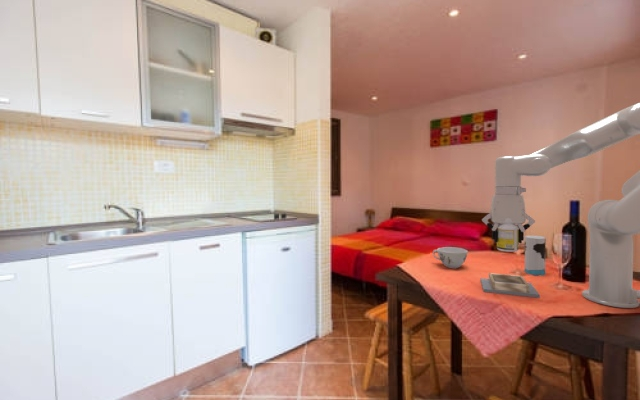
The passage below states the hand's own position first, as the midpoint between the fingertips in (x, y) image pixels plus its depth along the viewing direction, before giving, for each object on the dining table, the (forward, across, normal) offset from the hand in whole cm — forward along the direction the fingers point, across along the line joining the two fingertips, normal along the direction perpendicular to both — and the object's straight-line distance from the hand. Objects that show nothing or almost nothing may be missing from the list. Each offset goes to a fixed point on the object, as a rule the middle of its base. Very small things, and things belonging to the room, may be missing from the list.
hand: (507, 241), depth 101 cm
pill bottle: (+3, 0, 0) cm, 3 cm away
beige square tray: (+17, 0, 0) cm, 17 cm away
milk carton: (+17, -13, -23) cm, 32 cm away
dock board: (+17, 0, 0) cm, 17 cm away
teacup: (+17, +19, -23) cm, 34 cm away
